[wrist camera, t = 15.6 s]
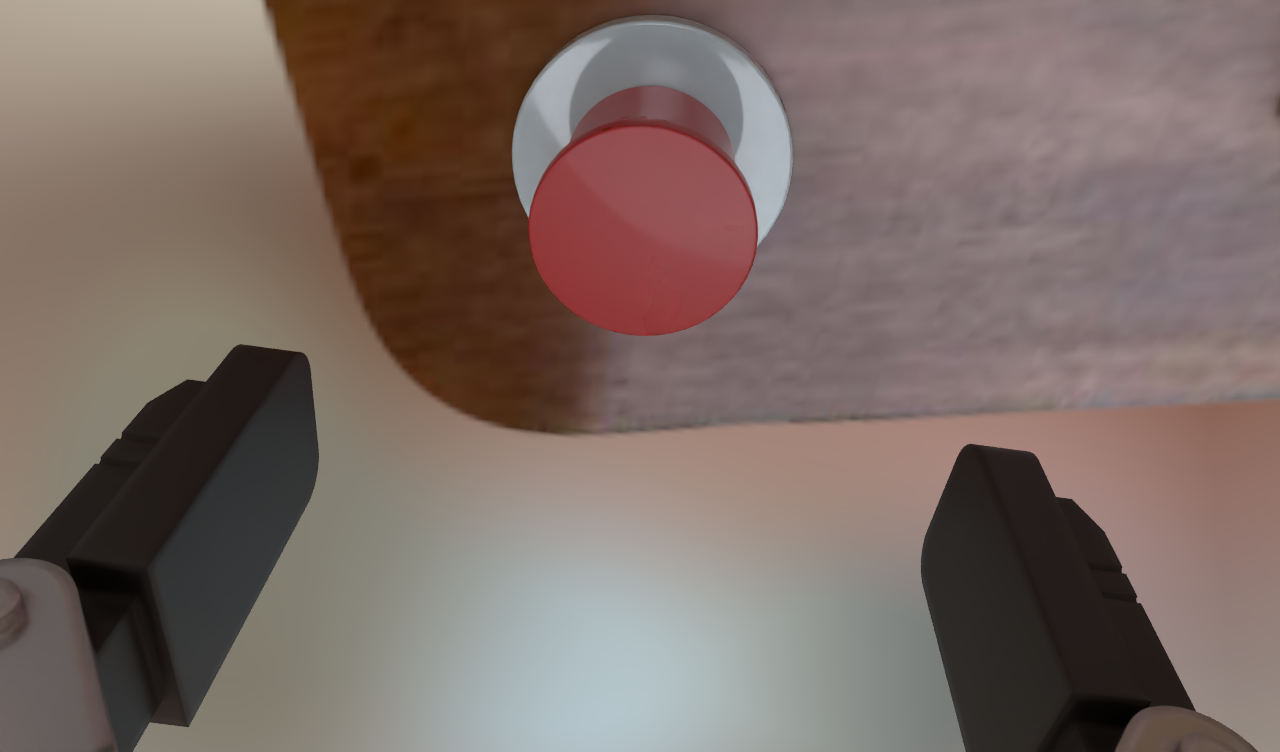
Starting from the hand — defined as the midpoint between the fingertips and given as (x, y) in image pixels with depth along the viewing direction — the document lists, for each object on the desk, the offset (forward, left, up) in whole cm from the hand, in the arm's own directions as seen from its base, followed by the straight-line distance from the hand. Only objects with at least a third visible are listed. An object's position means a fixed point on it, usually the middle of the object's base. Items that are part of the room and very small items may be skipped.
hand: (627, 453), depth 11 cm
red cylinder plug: (0, 0, -10) cm, 10 cm away
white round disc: (0, 0, -10) cm, 10 cm away
